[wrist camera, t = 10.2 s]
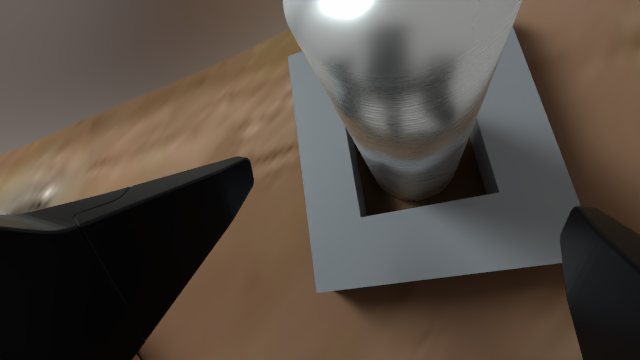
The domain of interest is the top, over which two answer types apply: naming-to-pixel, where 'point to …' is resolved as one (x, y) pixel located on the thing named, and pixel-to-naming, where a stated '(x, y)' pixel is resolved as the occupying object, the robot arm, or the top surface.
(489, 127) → the socket plate
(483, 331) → the top surface
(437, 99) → the steel peg
